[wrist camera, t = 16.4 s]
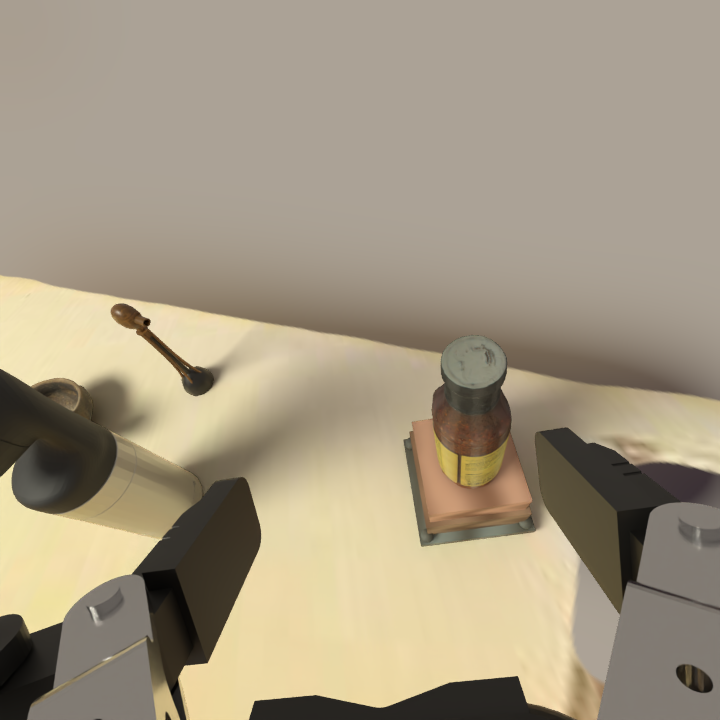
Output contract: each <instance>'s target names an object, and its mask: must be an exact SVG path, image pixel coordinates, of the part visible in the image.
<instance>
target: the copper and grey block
mask: <svg viewBox="0 0 720 720" xmlns="http://www.w3.org/2000/svg"><path fill="white" fill-rule="evenodd" d="M432 422H433V419H428V420H421V421H415V422H412V426H413V431H411V432H410V438H408V439H405V440H404V446H405V452H406V458H407V464H408V470H409V476H410V482H411V488H412V494H413V500H414V506H415V512H416V518H417V524H418V531H419V537H420V543H421V547H423V546H431V545H439V544H446V543H454V542H462V541H469V540H477V539H485V538H493V537H500V536H508V535H516V534H523V533H531V532H534V531H535V527H534V524H533V521H532V518H531V514H532V513H531V510H530V507H529V505H530V503H531V502H532V498H531V495H530V492H529V489H528V486H527V482H526V479H525V476H524V473H523V470H522V467H521V464H520V461H519V458H518V455H517V452H516V449H515V446H514V443H513V440H512V436H511V433H509V437H508V441H507V445H506V449H505V453H504V457H503V461H502V465H501V468H500V470H499V472H498V474H497V475H496V476H495V477H494V478H493V480H492V481H491V482H490V483H489V484H488V485H486V486H483V487H479V488H474V489H467V488H462V487H460V486H458V485H457V484H455V483H453V482H452V481H451V480H450V479H448V477H447V476H446V475H445V474H444V473H443V472H442V469H441V467H440V464H439V461H438V456H437V450H436V444H435V437H434V430H433V423H432Z"/></svg>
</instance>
